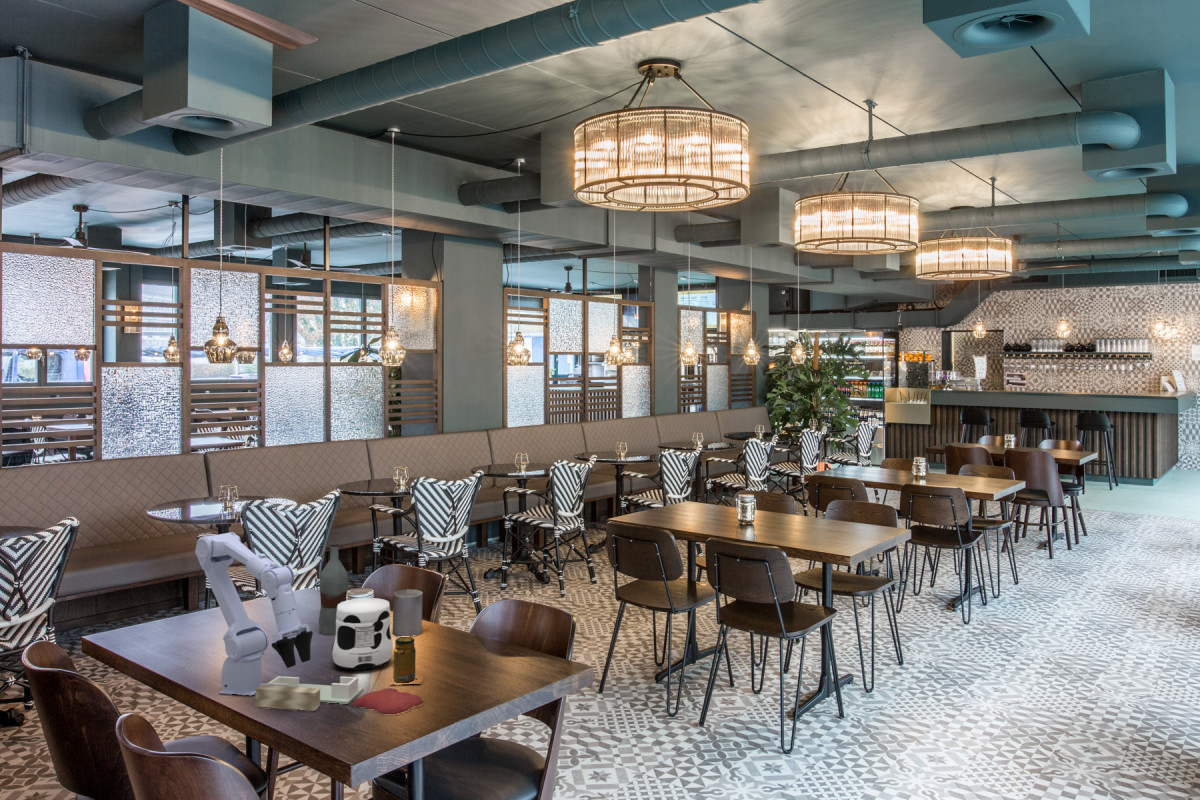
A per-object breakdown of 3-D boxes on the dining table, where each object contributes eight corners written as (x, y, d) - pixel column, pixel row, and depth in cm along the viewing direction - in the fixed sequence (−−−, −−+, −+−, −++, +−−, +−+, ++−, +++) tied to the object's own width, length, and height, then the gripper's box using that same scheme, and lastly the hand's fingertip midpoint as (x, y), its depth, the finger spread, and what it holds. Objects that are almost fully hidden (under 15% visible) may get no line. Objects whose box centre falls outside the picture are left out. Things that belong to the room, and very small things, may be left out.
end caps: (267, 693, 213) (267, 679, 212) (278, 685, 218) (278, 672, 218) (348, 698, 210) (348, 685, 210) (358, 690, 216) (358, 677, 216)
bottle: (312, 633, 267) (314, 544, 267) (329, 626, 276) (330, 539, 276) (336, 636, 264) (338, 546, 264) (353, 629, 273) (354, 541, 273)
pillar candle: (390, 630, 272) (390, 586, 272) (418, 627, 277) (419, 584, 276) (395, 639, 264) (396, 594, 263) (425, 635, 268) (425, 591, 267)
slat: (255, 708, 205) (255, 688, 205) (261, 703, 208) (262, 684, 208) (314, 712, 203) (314, 693, 203) (319, 708, 206) (320, 688, 206)
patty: (345, 706, 208) (345, 698, 208) (384, 689, 220) (384, 682, 220) (393, 721, 199) (394, 713, 199) (432, 703, 211) (432, 695, 211)
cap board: (260, 698, 210) (261, 695, 210) (280, 685, 220) (280, 682, 220) (347, 704, 208) (347, 701, 208) (363, 690, 218) (363, 687, 218)
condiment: (394, 676, 229) (394, 635, 229) (424, 676, 229) (424, 634, 229) (389, 686, 221) (390, 643, 221) (420, 685, 222) (421, 642, 222)
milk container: (364, 651, 250) (365, 594, 250) (404, 661, 241) (405, 602, 241) (319, 667, 236) (320, 606, 235) (360, 678, 227) (361, 615, 226)
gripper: (285, 611, 202) (298, 664, 199) (313, 604, 216) (326, 654, 213) (260, 619, 202) (273, 673, 200) (289, 612, 216) (302, 662, 214)
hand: (299, 664), depth 207 cm, fingers open, 7 cm apart
